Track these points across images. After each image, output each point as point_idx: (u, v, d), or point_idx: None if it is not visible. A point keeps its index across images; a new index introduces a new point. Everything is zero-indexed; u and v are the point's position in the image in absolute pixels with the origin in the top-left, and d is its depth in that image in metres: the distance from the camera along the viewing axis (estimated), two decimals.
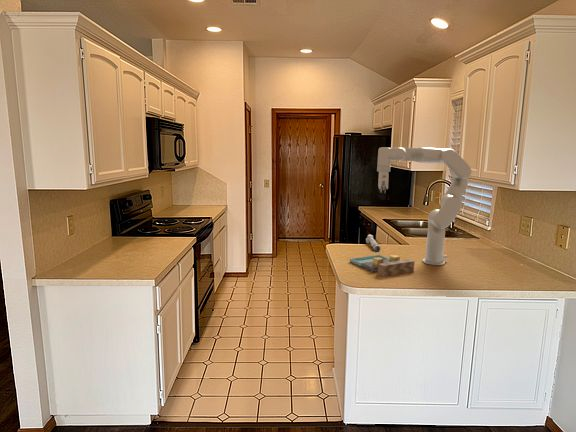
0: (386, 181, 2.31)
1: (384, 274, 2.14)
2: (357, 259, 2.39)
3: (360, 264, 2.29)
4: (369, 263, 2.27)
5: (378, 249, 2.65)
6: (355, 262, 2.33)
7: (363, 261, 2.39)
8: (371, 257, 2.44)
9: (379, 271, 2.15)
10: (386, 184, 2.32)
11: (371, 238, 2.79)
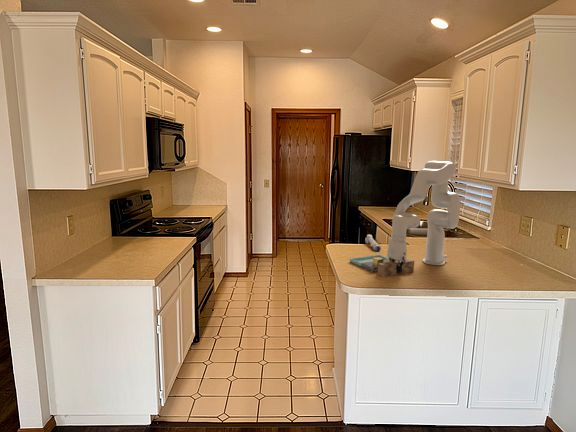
0: None
1: (384, 274, 2.13)
2: (357, 259, 2.39)
3: (360, 264, 2.29)
4: (369, 263, 2.27)
5: (378, 249, 2.64)
6: (355, 262, 2.33)
7: (363, 261, 2.39)
8: (371, 257, 2.44)
9: (379, 271, 2.15)
10: None
11: (371, 238, 2.79)
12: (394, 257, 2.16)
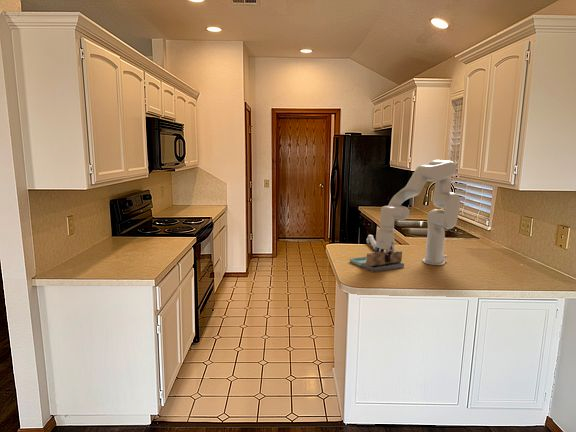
0: None
1: (373, 263, 2.21)
2: (357, 259, 2.39)
3: (360, 264, 2.29)
4: None
5: None
6: (355, 262, 2.33)
7: (363, 261, 2.39)
8: None
9: (368, 260, 2.23)
10: None
11: (371, 238, 2.79)
12: (382, 247, 2.24)
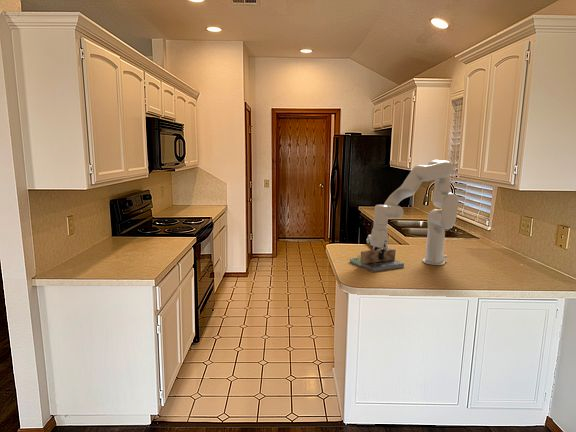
0: None
1: (366, 261, 2.26)
2: None
3: (360, 264, 2.29)
4: (369, 263, 2.27)
5: None
6: (355, 262, 2.33)
7: None
8: None
9: (362, 258, 2.27)
10: None
11: None
12: (376, 245, 2.29)
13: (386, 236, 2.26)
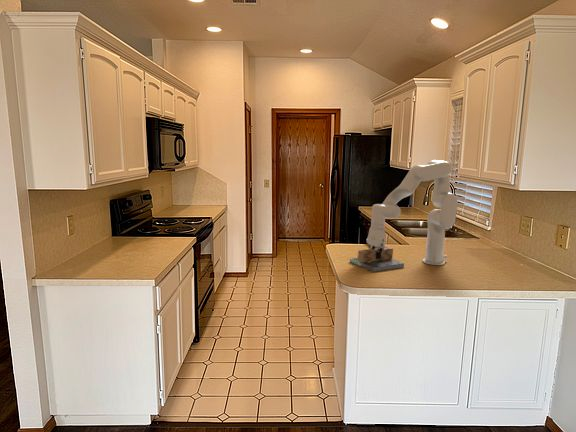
0: None
1: (364, 260, 2.28)
2: None
3: (360, 264, 2.29)
4: (369, 263, 2.27)
5: None
6: (355, 262, 2.33)
7: None
8: None
9: (359, 257, 2.29)
10: None
11: None
12: (374, 244, 2.30)
13: (383, 235, 2.28)
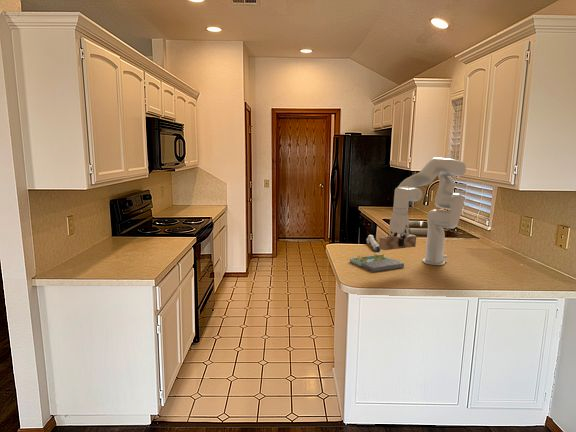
0: None
1: (385, 247, 2.11)
2: None
3: (360, 264, 2.29)
4: (369, 263, 2.27)
5: (378, 249, 2.64)
6: (355, 262, 2.33)
7: None
8: (371, 257, 2.44)
9: (380, 245, 2.13)
10: None
11: (371, 238, 2.79)
12: (396, 230, 2.14)
13: (407, 221, 2.11)
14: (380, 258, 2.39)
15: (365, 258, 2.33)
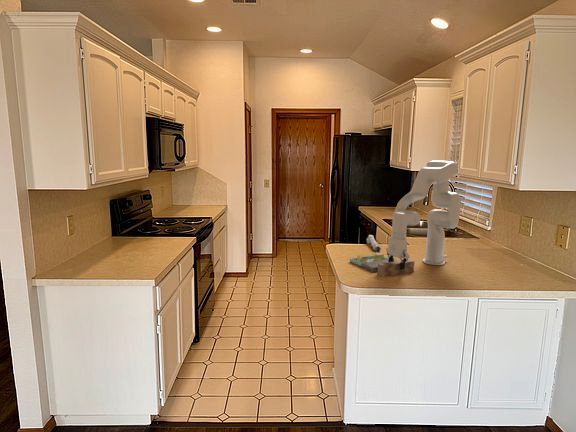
0: None
1: (384, 274, 2.14)
2: None
3: (360, 264, 2.29)
4: (369, 263, 2.27)
5: (378, 249, 2.63)
6: (355, 262, 2.33)
7: None
8: (371, 257, 2.44)
9: (379, 271, 2.15)
10: None
11: (372, 238, 2.78)
12: (394, 254, 2.16)
13: (405, 245, 2.14)
14: (380, 258, 2.39)
15: (365, 258, 2.33)
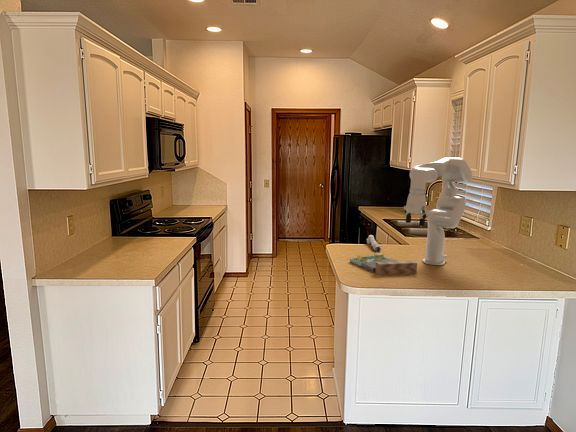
0: None
1: (380, 273, 2.16)
2: None
3: (360, 264, 2.29)
4: (369, 263, 2.27)
5: (378, 250, 2.63)
6: (355, 262, 2.33)
7: None
8: (371, 257, 2.44)
9: (376, 269, 2.18)
10: None
11: (372, 238, 2.78)
12: (413, 211, 2.15)
13: (424, 202, 2.12)
14: (380, 258, 2.39)
15: (365, 258, 2.33)
